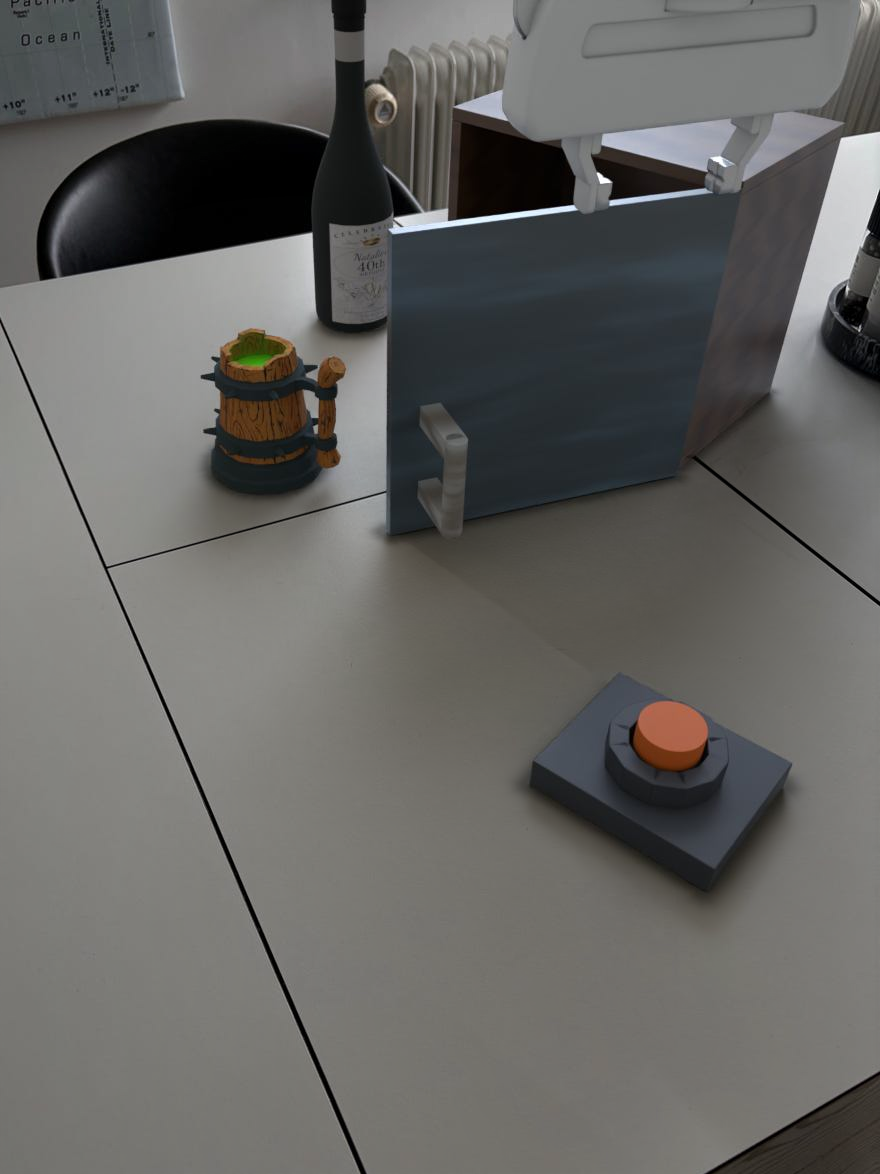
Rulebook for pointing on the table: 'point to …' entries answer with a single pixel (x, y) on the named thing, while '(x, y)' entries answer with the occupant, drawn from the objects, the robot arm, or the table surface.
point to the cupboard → (665, 165)
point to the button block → (660, 784)
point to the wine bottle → (351, 195)
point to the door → (545, 352)
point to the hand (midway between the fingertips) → (656, 200)
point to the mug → (271, 415)
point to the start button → (670, 736)
